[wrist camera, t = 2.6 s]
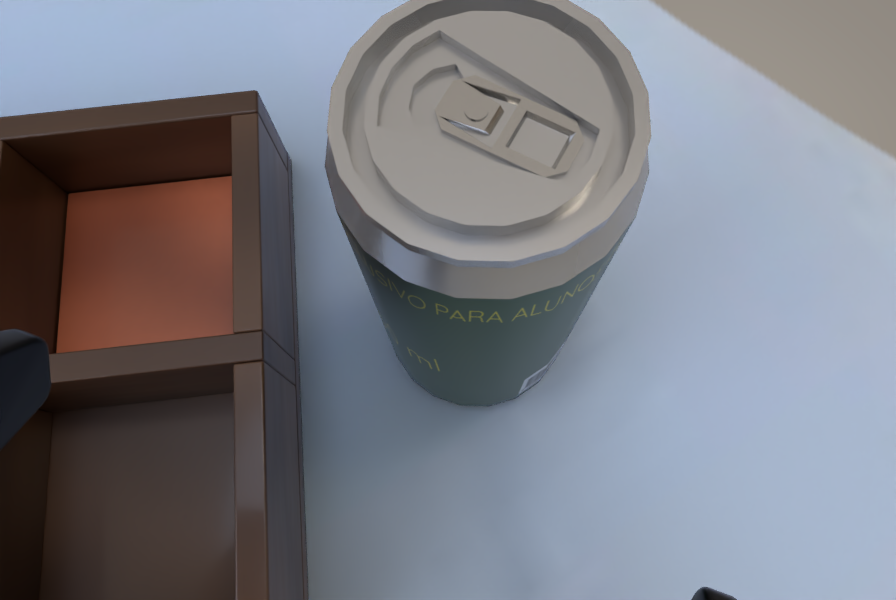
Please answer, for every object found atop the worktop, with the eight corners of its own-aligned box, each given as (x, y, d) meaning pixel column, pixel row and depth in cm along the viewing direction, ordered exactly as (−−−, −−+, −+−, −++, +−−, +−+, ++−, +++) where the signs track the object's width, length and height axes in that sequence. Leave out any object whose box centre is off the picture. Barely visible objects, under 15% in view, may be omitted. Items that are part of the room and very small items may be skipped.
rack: (310, 650, 19) (270, 684, 15) (-251, 715, 19) (-439, 766, 15) (291, 159, 24) (257, 88, 20) (-154, 207, 24) (-277, 145, 20)
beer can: (587, 294, 22) (722, 50, 10) (512, 442, 20) (572, 345, 9) (443, 222, 23) (421, -75, 11) (361, 359, 21) (242, 176, 10)
